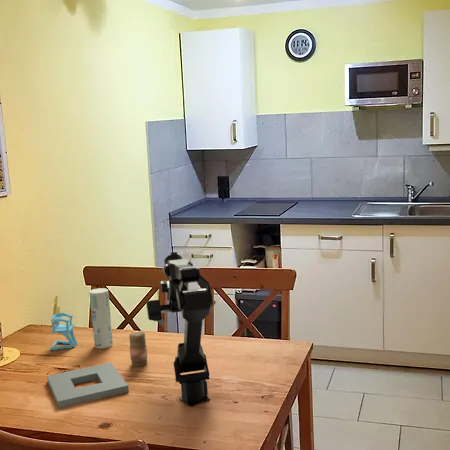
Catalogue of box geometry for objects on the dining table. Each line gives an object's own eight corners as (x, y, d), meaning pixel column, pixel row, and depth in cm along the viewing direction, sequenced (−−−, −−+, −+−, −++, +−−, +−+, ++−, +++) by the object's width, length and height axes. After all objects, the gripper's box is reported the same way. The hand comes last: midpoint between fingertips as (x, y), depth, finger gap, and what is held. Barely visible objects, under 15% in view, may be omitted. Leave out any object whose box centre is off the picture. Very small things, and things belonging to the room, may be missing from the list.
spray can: (115, 346, 221) (110, 291, 217) (97, 350, 218) (91, 294, 214) (110, 340, 226) (105, 287, 223) (92, 344, 224) (87, 290, 220)
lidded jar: (135, 368, 200) (133, 338, 198) (128, 363, 204) (125, 334, 202) (150, 364, 203) (148, 334, 201) (143, 359, 207) (140, 330, 205)
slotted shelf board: (128, 391, 183) (128, 385, 183) (58, 408, 175) (58, 401, 175) (111, 368, 201) (111, 362, 201) (47, 382, 193) (47, 376, 193)
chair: (73, 350, 220) (70, 317, 217) (50, 350, 220) (46, 318, 218) (78, 342, 227) (76, 310, 225) (56, 343, 227) (52, 311, 225)
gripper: (203, 268, 195) (201, 300, 206) (143, 274, 192) (144, 307, 202) (211, 295, 188) (208, 327, 198) (148, 302, 184) (148, 335, 194)
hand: (177, 323), depth 199 cm, fingers open, 9 cm apart
